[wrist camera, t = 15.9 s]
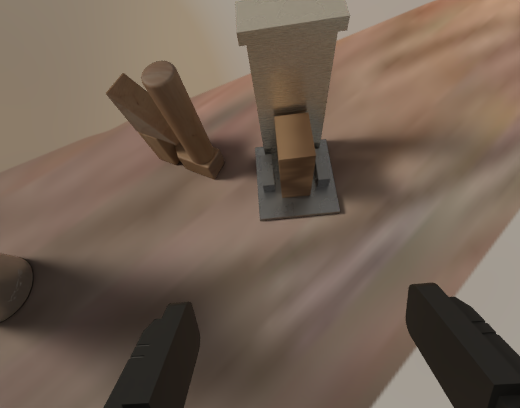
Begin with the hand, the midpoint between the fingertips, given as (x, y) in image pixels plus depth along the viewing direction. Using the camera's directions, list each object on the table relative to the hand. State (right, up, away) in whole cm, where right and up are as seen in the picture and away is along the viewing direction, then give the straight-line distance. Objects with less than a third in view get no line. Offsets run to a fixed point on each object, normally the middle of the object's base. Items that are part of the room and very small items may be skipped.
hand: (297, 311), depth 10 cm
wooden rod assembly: (-12, +11, +34) cm, 37 cm away
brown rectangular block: (+4, +8, +29) cm, 30 cm away
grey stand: (+4, +8, +30) cm, 31 cm away
